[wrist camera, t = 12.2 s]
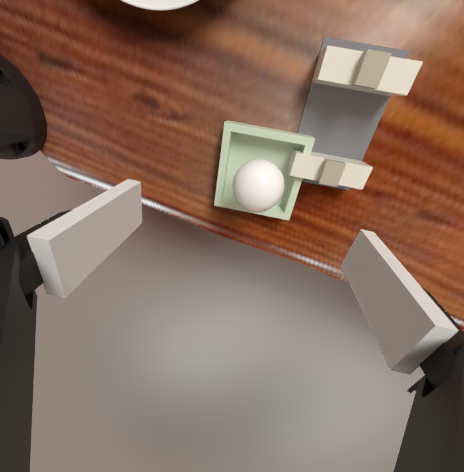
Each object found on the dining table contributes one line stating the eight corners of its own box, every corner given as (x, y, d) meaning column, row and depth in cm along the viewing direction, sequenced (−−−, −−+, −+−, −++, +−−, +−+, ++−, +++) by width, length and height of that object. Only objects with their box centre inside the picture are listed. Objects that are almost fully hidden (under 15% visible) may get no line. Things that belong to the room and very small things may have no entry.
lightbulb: (248, 197, 37) (243, 227, 27) (231, 160, 34) (219, 180, 25) (286, 181, 35) (294, 208, 25) (270, 141, 32) (274, 154, 23)
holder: (284, 176, 36) (287, 188, 31) (323, 38, 27) (336, 22, 22) (347, 188, 36) (360, 202, 30) (406, 52, 27) (439, 40, 22)
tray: (217, 198, 38) (214, 205, 36) (227, 120, 32) (224, 121, 30) (287, 212, 38) (289, 220, 35) (311, 135, 32) (315, 138, 29)
